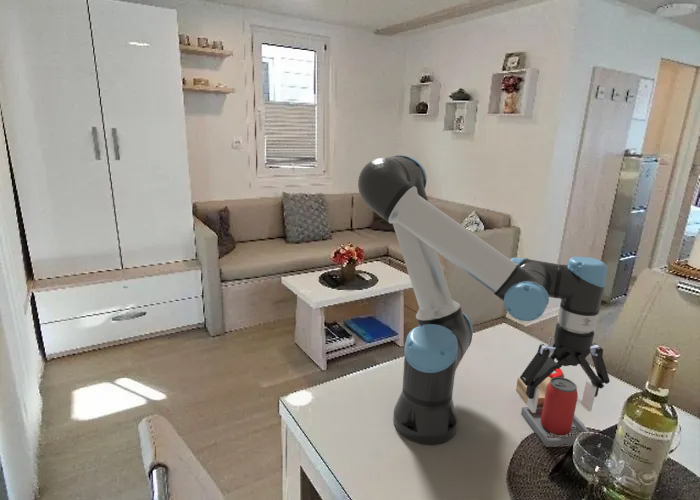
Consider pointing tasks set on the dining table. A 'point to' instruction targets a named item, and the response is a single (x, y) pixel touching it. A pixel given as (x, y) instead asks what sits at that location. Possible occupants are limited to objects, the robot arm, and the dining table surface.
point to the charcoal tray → (537, 427)
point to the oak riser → (522, 389)
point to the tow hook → (559, 371)
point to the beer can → (559, 406)
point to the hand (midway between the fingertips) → (558, 408)
